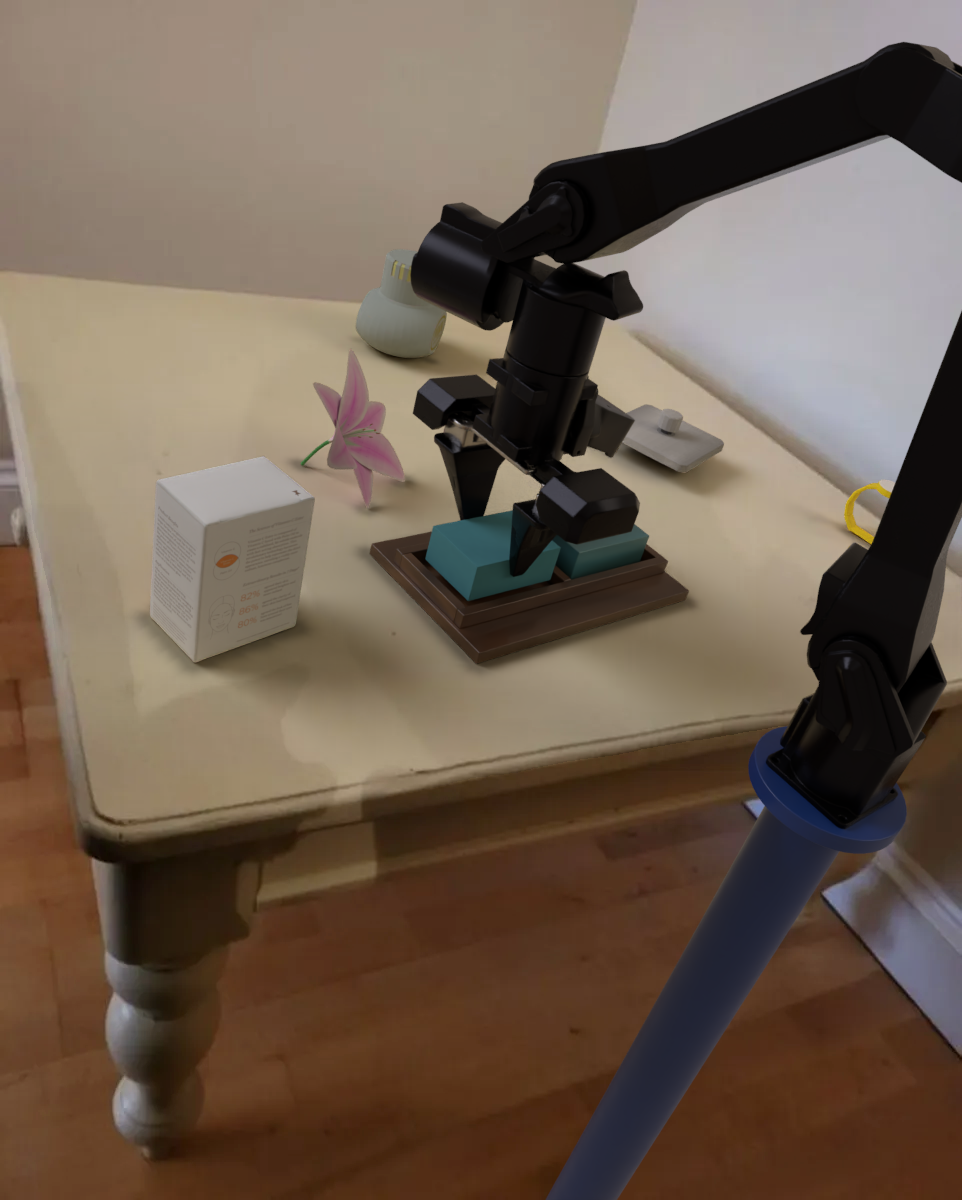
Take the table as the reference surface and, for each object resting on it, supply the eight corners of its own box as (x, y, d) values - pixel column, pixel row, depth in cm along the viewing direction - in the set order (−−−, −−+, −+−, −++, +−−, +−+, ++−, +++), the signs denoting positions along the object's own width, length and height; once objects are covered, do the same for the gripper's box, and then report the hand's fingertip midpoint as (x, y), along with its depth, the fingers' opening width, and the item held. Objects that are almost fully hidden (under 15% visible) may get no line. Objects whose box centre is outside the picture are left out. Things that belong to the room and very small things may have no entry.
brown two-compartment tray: (685, 600, 84) (702, 560, 81) (476, 664, 70) (489, 618, 68) (575, 511, 92) (588, 472, 89) (369, 553, 78) (377, 509, 76)
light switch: (676, 491, 100) (694, 445, 97) (593, 447, 103) (608, 402, 101) (717, 465, 107) (735, 422, 104) (638, 425, 111) (653, 383, 108)
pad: (550, 580, 78) (561, 547, 76) (468, 601, 73) (477, 567, 71) (506, 541, 81) (515, 509, 79) (424, 559, 76) (433, 525, 74)
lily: (293, 532, 80) (370, 454, 76) (229, 416, 84) (299, 335, 79) (388, 533, 90) (460, 465, 86) (328, 429, 94) (394, 359, 89)
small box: (250, 584, 72) (266, 453, 66) (297, 628, 69) (318, 495, 63) (145, 616, 66) (153, 476, 60) (192, 666, 64) (205, 524, 58)
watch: (831, 525, 101) (857, 473, 98) (843, 519, 103) (869, 468, 100) (885, 557, 99) (913, 504, 95) (896, 549, 100) (925, 498, 97)
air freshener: (375, 322, 118) (390, 235, 112) (443, 342, 117) (462, 256, 112) (346, 353, 108) (361, 260, 103) (420, 375, 108) (439, 283, 103)
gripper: (728, 412, 67) (652, 603, 75) (548, 298, 77) (500, 477, 86) (609, 429, 60) (540, 636, 69) (430, 302, 71) (390, 495, 79)
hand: (492, 553), depth 76 cm, fingers closed on pad, 5 cm apart
